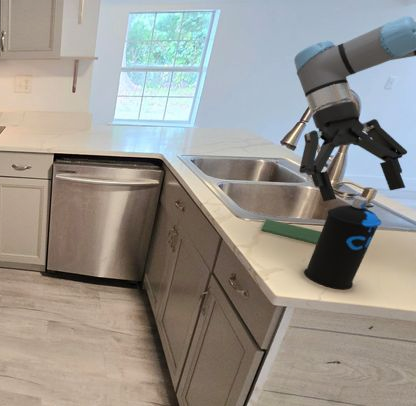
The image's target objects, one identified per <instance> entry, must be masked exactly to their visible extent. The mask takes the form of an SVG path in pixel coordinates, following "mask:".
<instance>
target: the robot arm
mask: <svg viewBox="0 0 416 406" xmlns="http://www.w3.org/2000/svg"><path fill="white" fill-rule="evenodd" d="M413 57H416V21H415V20H414V18H413V17H412V16H409V15H408V16H407V15H405V16H403V17H401V18H398V19H396V20H393V21H390V22H386V23H385V24H383V25H381V26H379V27H377V28H374V29H372V30H369V31H368V32H365V33H363V34H361V35H358V36H356V37H354V38H352V39H350V40H348V41H345V42H343V43H340V44H334V42H333V41H331V40H325V41H320V42H317V43H316V44H312V45H310V46H307V47H306V48H304V49H302V50H300V51H299V52H297V53H296V55H295V56H294V65H295V70H296V75H297V77H298V79H299V82H300V85H301V88H302V90H303V94H304V96H305V100H306V102H307V105H308V109H309V111H310V113H312V115H311V118H312V121H313V124H314V126H315V128H316V129H318V131H317V130H311V131H309V132H307V133H305V134H304V136H303V137H304V148H303V152H302V156H301V161H300V166H299V173H300V174H306V175H307V176H311V178H312V182H313V185H314V187H315V188H318V189H319V192H320V195H321V199H322V201H323V202H328V201H332V200H337V196H336V194H335V191H334V188H333V185H332V182H331V179H330V176H329V173H328V171H327V170H325V171H323V170H324V168H325V166H326V164H327V162H328V160H329V159H330V158H331V156H332V153H333V152H334V150H335V148H340V147H341V146H350V145H353V146H358V147H360V148H362V149H363V150H364V151H366V152H368V153H370V154H371V155H373V156H375V157H376V158H378V159H379V160H381V161H382V162H380V163H379V165H380V168H381V170H382V172H383V173H382V174H383V176H384V178H385V181H386V184H387V186H388V189H389V191H395V190H400V189H401V190H402V189H405V188H406V186H405V182H404V180H403V177H402V174H403V168H402V167H401V164H400V161H399V159H401V158H402V157H403V156H404V155H407V154H408V150H407V149H406V148H405V147H404V146H403V145H401V144H400V143H399V142H398V141H397V140H396V139H394V137H392V136H391V135H390V134H389V133H388V132H387V131H385V130H384V128H382V127H381V125H380V123H379V121H378V119H376V118H372V119H371V120H368V121H366V122H363V123H362V122H361V121H360V116H361V114H360V110H359V108H358V106H357V103H356V102H354V99H355V97H354V95H353V92H352V90H351V87H350V84H349V82H348V78H347V77H350V76H352V75H355V74H357V73H360V72H362V71H365V70H367V69H370V68H374V67H376V66H379V65H382V64H384V63H386V62H389V61H395V60H400V59H407V58H413ZM320 139H321V140H322V141H323V142H322V144H321V146H320V147H319V148H320V149H319V151H318V146H319V141H320ZM317 151H318V154H317Z"/></svg>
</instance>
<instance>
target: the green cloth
mask: <svg viewBox="0 0 416 406" xmlns="http://www.w3.org/2000/svg"><path fill="white" fill-rule="evenodd" d="M260 230H261V232H265V233H269V234H274V235H278V236H282V237H285V238H289V239H294V240H299V241H302V242H307V243H311V244H314V245H316V244H317V242H318V239H319V237H320V234H321V231H322V230H321V231H320V230H315V229H311V228H307V227H303V226H299V225H294V224H289V223H285V222H282V221H277V220H272V219H268V218H266V219H265V220H264V223H263V224H262V227H261V229H260Z"/></svg>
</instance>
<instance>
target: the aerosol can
mask: <svg viewBox="0 0 416 406" xmlns="http://www.w3.org/2000/svg"><path fill="white" fill-rule="evenodd" d="M368 201H369V198H366V197H364V196H354V198H353V201H352V203H351V204H349V205H339V206H335V207H334V208H331V209H328V210H327V217H326V219H325V221H324V224H323V227H322V229H321V234H320V237H319V239H318V242H317V244H315V247H314V250H313V252H312V255H311V257H310V260H309V262H308V265H307V266H306V268H305V269H304V275H305V276H306V278H308V279H309V280H310V281H312V282H314V283H316V284H319V285H321V286H324V287H327V288H331V289H336V290H348V289H351V288H352V287H353V281H354V279H355V277H356V275H357V273H358V270H359V269H360V267H361V264H362V262H363V259H364V258H365V255H366V253H367V251H368V249H369V247H370V244H371V242H372V240H373V237H374V236H375V233H376V231H377V229H378V227H379V226H381V225H382V221H381V219H380V218H379V217H378V216H377V214H376V213H374V212H373V211H371V210H369V209H367V208H366V205H367V204H368Z"/></svg>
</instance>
